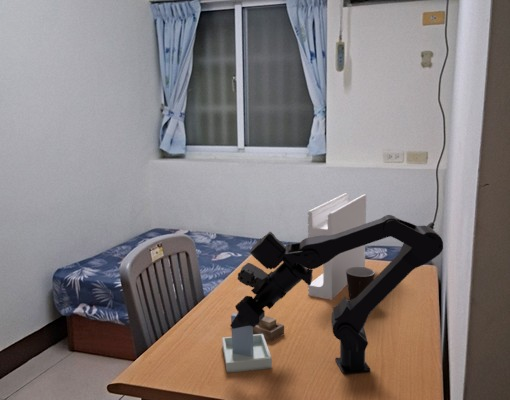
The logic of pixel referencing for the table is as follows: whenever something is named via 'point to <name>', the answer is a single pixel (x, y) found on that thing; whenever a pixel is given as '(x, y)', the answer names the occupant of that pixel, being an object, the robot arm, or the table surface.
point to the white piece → (329, 223)
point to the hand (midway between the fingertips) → (239, 318)
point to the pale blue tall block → (242, 339)
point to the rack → (269, 331)
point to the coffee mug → (358, 280)
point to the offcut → (268, 323)
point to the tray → (247, 363)
